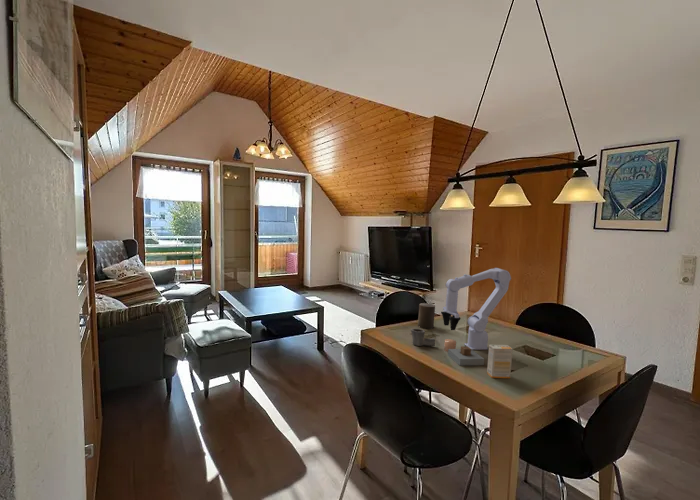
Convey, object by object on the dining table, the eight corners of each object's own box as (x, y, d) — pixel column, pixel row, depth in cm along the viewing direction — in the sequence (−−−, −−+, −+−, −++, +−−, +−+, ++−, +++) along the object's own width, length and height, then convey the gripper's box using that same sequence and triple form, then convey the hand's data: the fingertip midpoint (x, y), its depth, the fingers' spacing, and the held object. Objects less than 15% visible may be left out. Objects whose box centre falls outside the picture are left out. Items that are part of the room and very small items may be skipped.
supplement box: (504, 373, 147) (507, 344, 146) (510, 379, 142) (513, 348, 141) (486, 373, 146) (488, 343, 145) (491, 378, 142) (493, 348, 141)
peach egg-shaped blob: (452, 348, 175) (453, 338, 174) (457, 352, 169) (458, 342, 169) (442, 348, 174) (442, 339, 173) (447, 352, 168) (447, 342, 168)
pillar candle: (428, 329, 203) (430, 305, 202) (414, 325, 210) (416, 302, 209) (436, 327, 210) (438, 303, 209) (422, 323, 217) (424, 300, 216)
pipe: (434, 349, 172) (436, 333, 171) (409, 345, 175) (410, 330, 174) (434, 345, 178) (435, 330, 177) (409, 342, 181) (411, 327, 180)
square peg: (466, 358, 162) (467, 346, 161) (470, 361, 158) (471, 349, 158) (459, 358, 161) (460, 346, 161) (463, 361, 158) (464, 349, 157)
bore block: (470, 354, 167) (470, 348, 167) (483, 365, 155) (484, 358, 155) (447, 355, 165) (448, 349, 164) (459, 365, 153) (460, 359, 153)
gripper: (438, 298, 182) (436, 323, 183) (450, 305, 168) (448, 332, 169) (450, 299, 183) (448, 323, 184) (463, 305, 169) (461, 332, 170)
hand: (449, 327), depth 177 cm, fingers open, 7 cm apart
